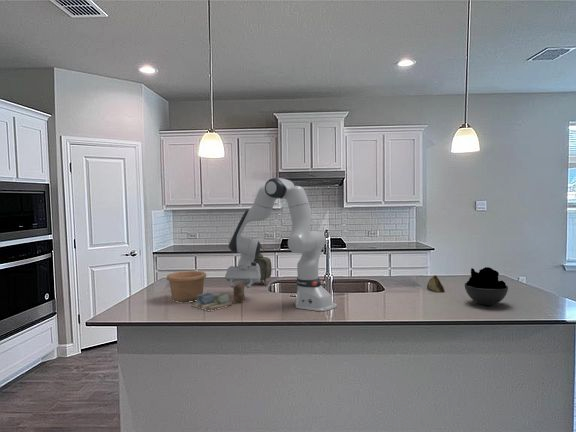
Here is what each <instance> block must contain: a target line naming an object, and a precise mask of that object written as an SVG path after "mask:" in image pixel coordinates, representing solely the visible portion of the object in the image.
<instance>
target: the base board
mask: <svg viewBox="0 0 576 432" xmlns="http://www.w3.org/2000/svg"><path fill="white" fill-rule="evenodd" d="M232 304H233V303H232V301H230V300H229V295H228V294H224V293H220V292H219V293H217V294H214V293H210V292H205V293H203V294H200V295H197V301H195V302H191V306H192V305H194V306H197V307H200V308H203V309H206V310H205V311H207V310H210V311H209V312H212V311H211V310H214V311H216V310H215V309H218V308H221V307H225V306H228V307H230V306H229V305H232ZM197 307H196V308H197ZM200 308H199V309H200ZM225 308H226V307H225ZM203 309H202V310H203ZM221 309H222V308H221ZM218 310H219V309H218Z"/></svg>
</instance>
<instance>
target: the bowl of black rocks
mask: <svg viewBox="0 0 576 432" xmlns="http://www.w3.org/2000/svg"><path fill="white" fill-rule="evenodd" d="M499 275H500V273H499V272H498V271H497V270H495V269H493V268H491V267H489V266H487V267H486V266H485V267H483V268H481V269H479V271H477V270H476V271H475V268H473V267H471V269H470V277H469V278H468V280H467V281H466V282H465V283H464V290H465V292H466V294H467V295H468V296H469V298H470V299H471V300H473V301H474V302H476V303H478V304H480V305H483V306H492V305H495V304H499V303H500V302H501V301H503V300H504V298H505V297H506V296H507V293H508V291H509V286H508V285H507V284H506V282H505V281H504V280H499Z"/></svg>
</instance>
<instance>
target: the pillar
mask: <svg viewBox="0 0 576 432" xmlns="http://www.w3.org/2000/svg"><path fill="white" fill-rule="evenodd" d="M243 301H244V302H245V284H244V285H242V284H240V285H239V284H236V285H235V286H234V287H233V303H234V302H235V303H234V304H241V303H242V302H243ZM244 302H243V303H244ZM243 303H242V304H243Z"/></svg>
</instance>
